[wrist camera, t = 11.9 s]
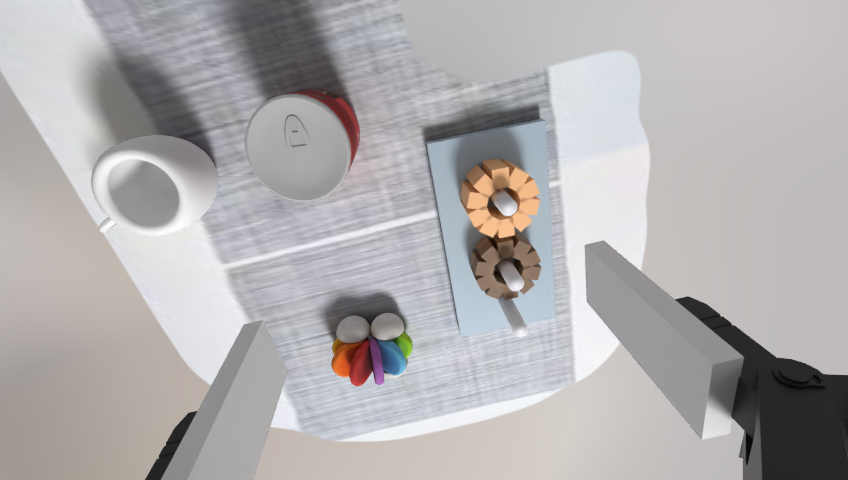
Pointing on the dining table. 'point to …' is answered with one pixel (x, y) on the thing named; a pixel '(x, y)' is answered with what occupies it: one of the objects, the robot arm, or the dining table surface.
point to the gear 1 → (487, 183)
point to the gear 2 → (495, 252)
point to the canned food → (302, 143)
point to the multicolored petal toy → (371, 348)
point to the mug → (153, 184)
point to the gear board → (460, 236)
